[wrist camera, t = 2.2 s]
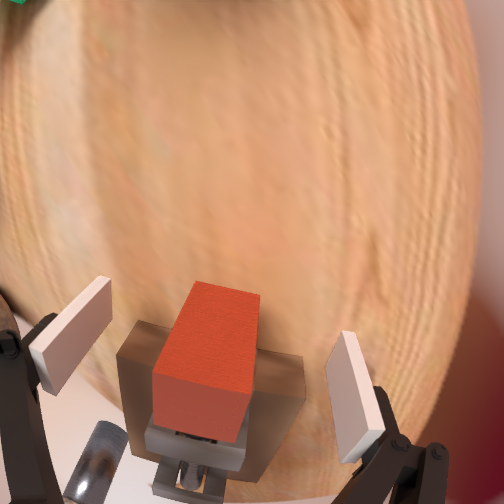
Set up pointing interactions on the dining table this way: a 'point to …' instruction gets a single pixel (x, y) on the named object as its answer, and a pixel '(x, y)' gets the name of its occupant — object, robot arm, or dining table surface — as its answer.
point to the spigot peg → (96, 465)
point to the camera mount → (18, 1)
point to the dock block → (217, 452)
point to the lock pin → (207, 369)
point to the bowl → (7, 317)
